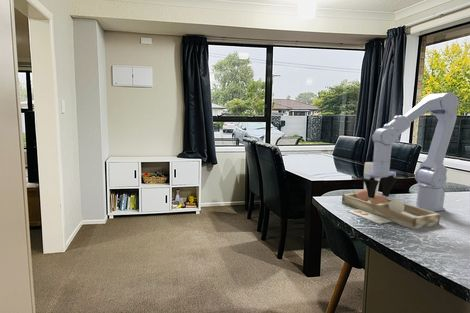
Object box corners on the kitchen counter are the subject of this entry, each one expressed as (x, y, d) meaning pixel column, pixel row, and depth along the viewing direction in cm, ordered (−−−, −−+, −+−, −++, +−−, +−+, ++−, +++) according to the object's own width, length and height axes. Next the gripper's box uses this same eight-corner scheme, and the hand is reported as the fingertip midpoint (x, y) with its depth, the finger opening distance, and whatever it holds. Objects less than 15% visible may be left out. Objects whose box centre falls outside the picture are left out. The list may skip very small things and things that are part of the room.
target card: (359, 209, 121) (359, 208, 120) (391, 221, 108) (391, 220, 108) (347, 211, 118) (347, 210, 118) (378, 223, 105) (379, 222, 105)
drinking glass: (380, 200, 135) (383, 165, 133) (363, 198, 137) (366, 163, 135) (376, 196, 142) (379, 162, 140) (360, 194, 143) (363, 161, 141)
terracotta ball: (376, 204, 125) (377, 191, 124) (387, 208, 120) (388, 195, 120) (367, 205, 123) (368, 192, 122) (378, 209, 118) (379, 196, 118)
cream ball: (394, 210, 118) (395, 197, 117) (406, 214, 113) (408, 200, 113) (384, 211, 116) (386, 198, 115) (397, 216, 111) (398, 202, 111)
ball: (362, 199, 131) (363, 187, 130) (372, 203, 127) (373, 190, 126) (353, 200, 129) (354, 188, 128) (363, 204, 125) (364, 191, 124)
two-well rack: (365, 200, 135) (366, 191, 134) (439, 224, 107) (440, 214, 107) (341, 202, 129) (342, 194, 129) (413, 229, 102) (414, 218, 101)
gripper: (386, 158, 126) (383, 192, 128) (358, 160, 120) (355, 195, 122) (402, 161, 120) (398, 197, 122) (374, 163, 113) (371, 200, 115)
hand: (378, 196), depth 121 cm, fingers open, 7 cm apart
